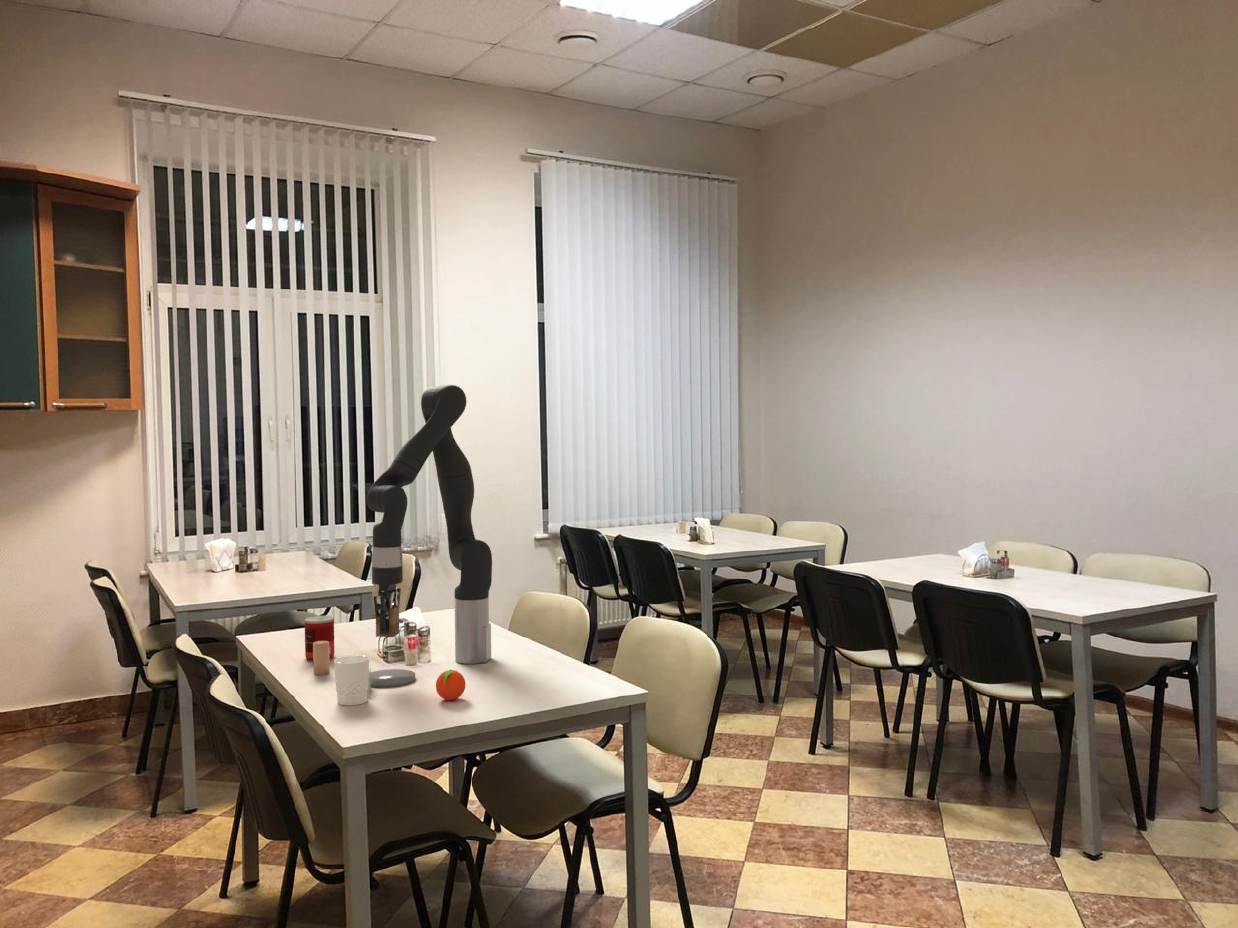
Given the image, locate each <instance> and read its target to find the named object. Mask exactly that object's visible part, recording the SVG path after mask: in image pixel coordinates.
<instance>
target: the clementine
mask: <svg viewBox="0 0 1238 928" xmlns="http://www.w3.org/2000/svg"><path fill="white" fill-rule="evenodd" d="M465 689H466V680H465V677H464V676H463V675H462V673H461V672H459V671H457V670H455V669H447V670H445V671H443V672H442V673H440V674H439V676H438V677H437V678H436V681H435V691H436V693H437V695H439V697H440V698H441V699H444V700H445V701H454V700H457V699H459V698H460V697H462V695H463V694H464V693H465Z"/></svg>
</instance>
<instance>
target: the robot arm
mask: <svg viewBox="0 0 1238 928" xmlns="http://www.w3.org/2000/svg"><path fill="white" fill-rule="evenodd" d="M420 399H421V400H420V407H421V408H420V409H421V412H422V415H423V419H424V422H425V423H424V425H423V426H422V427H421V428H420V429H419V430H417V432H416V433H415V434H413V435H412V436H411V437H410V438H409V439H408V440H407V441H406V442H405V443H404V444H403V445H402V447H401V448H400V450H399V451H398V452H397V454H396V456H395V458H394V459H393V461H392V462H391V464H390V466H389V467H388V468H387V469H386V470H385V471H384V472H383V473H382V474H381V475H380V476H379V477H377V478H376V480H375V481H374V482H373V483H372V485H371V486H370V487H369V489H368V491H367V493H366V499H365V500H366V505H367V507H368V508H369V509H370V510H371V511H372V512H374V513H383V516H382V519H381V522H378V523H376V524H374V526H373V528H372V551H371V552H372V553H371V583H373V584H374V585H378V591H377V594H376V595H373V605H374V613H375V619H376V618H378V619H380V634H388V633H389V610H391V609H392V606H399V607H400V601H401V591H402V589H401V587H397V585H398V584H401V583H402V582H403V581H404V579H403V577H404V575H403V574H404V573H403V569H404V568H403V566H404V565H403V563H404V562H403V560H404V559H403V549H402V528H403V525H404V520H405V518H406V514H407V509H408V495H407V493H406V491H405V490H404V488H403V487H405V486H409V485H411V484H413V482H414V481H415V479H416V478H417V477H418V475H419V473H420V472H421V470H422V468H423V467H424V465H425V463H426V462H427V460H428V458H429V457H430V455H431V453H433V460H434V463H435V469H436V476H437V482H438V487H439V492H440V497H441V501H442V508H443V513H444V518H445V522H446V523H445V524H446V531H447V543H448V556H449V560H450V562H451V565H453V567H454V568H455V569H457V570H458V571H460V581H459V583H458V585H457V586H456V587H455V588H454V641H455V642H454V656H455V657H454V658H455V659H454V660H455V662H456V663H458V664H467V665H468V664H471V665H472V664H473V665H475V664H481V663H488V662H489V660H490V659H491V658H492V625H491V623H490V612H489V610H490V609H489V608H490V606H489V605H490V601H489V599H490V598H489V597H490V596H489V595H490V589H491V586H492V579H493V571H492V570H493V554H492V550H491V548H490V546H489V545H488V543H487V542H485V541H483V540H480V539H476V535H475V532H474V529H473V524H472V509H473V505H474V499H475V497H474V496H475V484H474V483H475V482H474V478H473V477H474V476H473V472H472V468H471V465H470V462H469V460H468V458H467V457H466V455H465V454H464V452H463V450H462V449H461V447H460V446H459V445H458V443H457V441H456V439H455V437H454V434H453V431H452V427H453V426H454V425H455V424H456V422H457V421H458V420H459V419H460V417H461V416H462V414H464V412H465V409H466V407H467V395H466V393H465V391H464V390H463V389H462V388H461V387H460V386H457V385H456V384H444V385H436V386H430V387H427V388H426V389H425V390H424V391H423V392H422V395H421V398H420ZM382 610H383V613H382Z"/></svg>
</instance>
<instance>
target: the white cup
mask: <svg viewBox="0 0 1238 928" xmlns="http://www.w3.org/2000/svg"><path fill="white" fill-rule="evenodd" d="M333 662H334V679H335V680H334V681H335V690H336V697H337V698H336V699H337V704H338V705H340V706H357V705H362V704H365V703H366V702H367V701H368V696H369V694H368V683H369V668H370V657H369V656H367V655H363V654H362V655H360V654H359V655H357V654H356V655H355V654H353V655H345V656H339V657H336V658H335V659H334V660H333Z"/></svg>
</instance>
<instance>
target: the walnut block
mask: <svg viewBox="0 0 1238 928" xmlns="http://www.w3.org/2000/svg"><path fill="white" fill-rule="evenodd" d="M382 613H383V610H382ZM399 634H400V605H399V606H392V609H391V610H389V633H388V634H380V619H378V618H376V617H375V637H378V638H394V637H396V636H397V635H399Z"/></svg>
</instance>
